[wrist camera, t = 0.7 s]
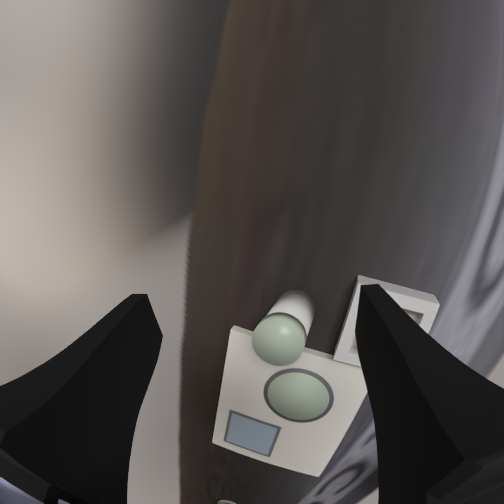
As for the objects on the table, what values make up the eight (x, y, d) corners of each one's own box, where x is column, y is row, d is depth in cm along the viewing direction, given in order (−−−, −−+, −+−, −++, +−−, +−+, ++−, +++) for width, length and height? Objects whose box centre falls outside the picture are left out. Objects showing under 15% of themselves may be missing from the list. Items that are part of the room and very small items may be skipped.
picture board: (320, 472, 34) (318, 477, 33) (215, 438, 38) (211, 443, 37) (376, 366, 29) (376, 372, 28) (234, 325, 33) (230, 329, 32)
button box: (405, 364, 28) (408, 377, 25) (335, 347, 30) (333, 359, 27) (434, 295, 25) (439, 304, 23) (358, 275, 28) (358, 283, 25)
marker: (321, 322, 30) (309, 362, 23) (282, 330, 31) (261, 369, 24) (310, 284, 29) (294, 314, 22) (270, 293, 31) (244, 324, 24)
